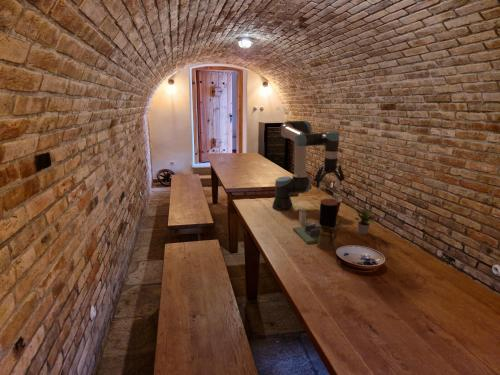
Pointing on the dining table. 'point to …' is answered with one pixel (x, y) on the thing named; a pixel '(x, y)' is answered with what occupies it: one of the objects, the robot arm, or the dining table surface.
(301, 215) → the plug
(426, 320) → the dining table surface
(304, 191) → the robot arm
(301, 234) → the board
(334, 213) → the coffee jar
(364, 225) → the house plant
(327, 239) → the wooden mug
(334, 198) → the plastic cup
